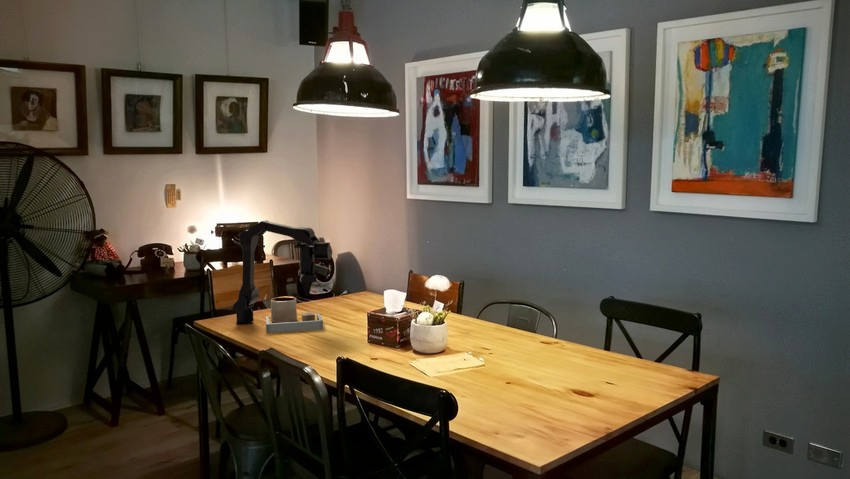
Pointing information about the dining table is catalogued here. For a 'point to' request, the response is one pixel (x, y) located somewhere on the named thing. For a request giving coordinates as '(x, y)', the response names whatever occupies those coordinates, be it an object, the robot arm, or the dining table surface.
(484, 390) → the dining table surface
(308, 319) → the walnut block
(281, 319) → the planter
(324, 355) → the dining table surface
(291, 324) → the tray bay
